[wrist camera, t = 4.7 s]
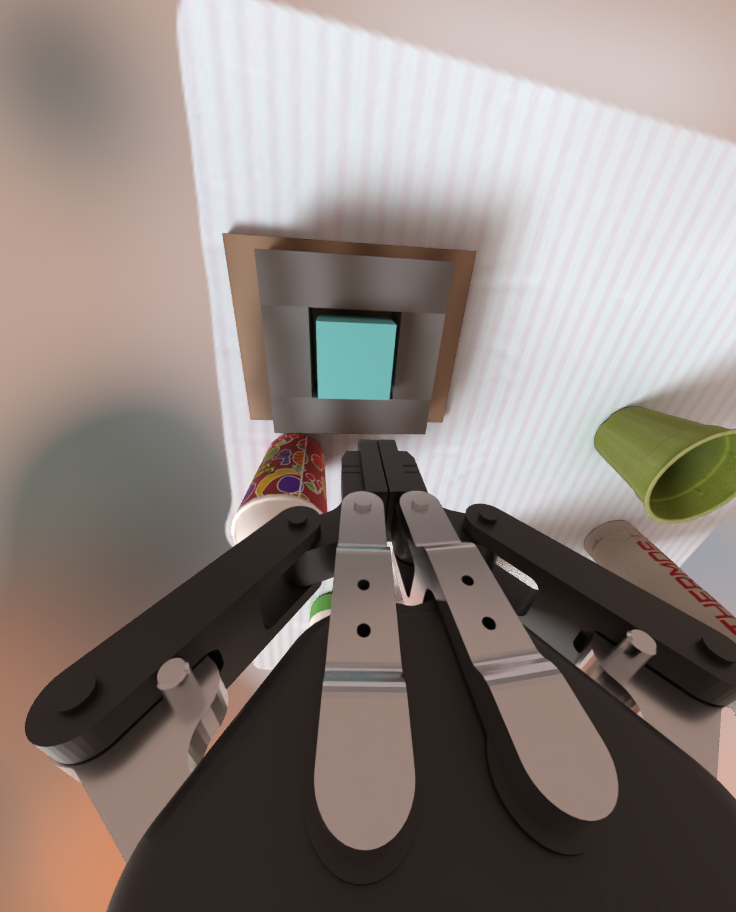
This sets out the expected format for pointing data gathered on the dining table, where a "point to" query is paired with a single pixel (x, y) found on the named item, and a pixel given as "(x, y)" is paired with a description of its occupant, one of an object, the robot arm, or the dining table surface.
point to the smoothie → (283, 484)
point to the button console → (345, 293)
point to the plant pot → (670, 462)
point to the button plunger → (354, 356)
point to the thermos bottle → (656, 575)
